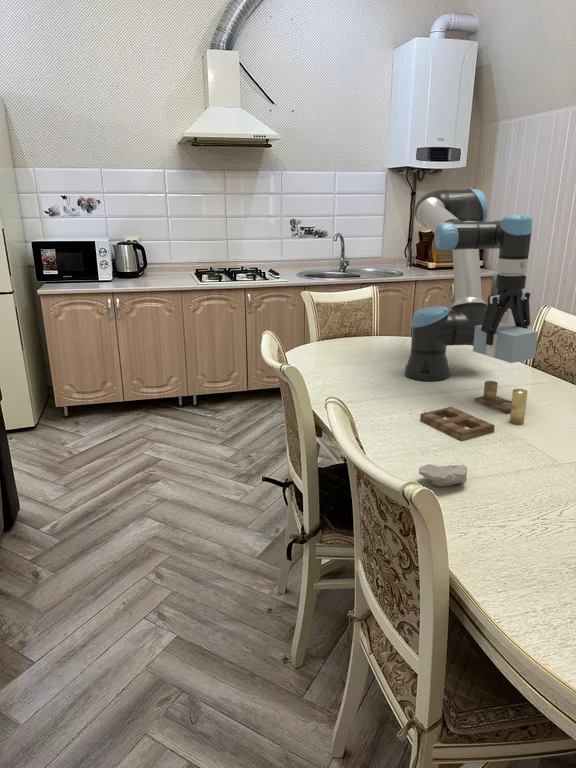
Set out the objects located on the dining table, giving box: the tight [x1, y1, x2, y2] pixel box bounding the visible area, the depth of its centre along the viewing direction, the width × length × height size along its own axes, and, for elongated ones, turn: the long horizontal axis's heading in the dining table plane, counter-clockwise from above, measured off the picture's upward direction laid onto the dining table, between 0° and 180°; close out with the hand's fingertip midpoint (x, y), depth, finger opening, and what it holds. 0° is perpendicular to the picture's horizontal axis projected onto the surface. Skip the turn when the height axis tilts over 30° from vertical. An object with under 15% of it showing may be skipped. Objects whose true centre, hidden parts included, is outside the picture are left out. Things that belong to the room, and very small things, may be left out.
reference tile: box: [474, 380, 512, 414], centre depth 162 cm, size 12×7×6 cm, turn 27°
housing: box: [472, 322, 539, 364], centre depth 157 cm, size 14×9×8 cm, turn 27°
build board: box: [419, 406, 495, 442], centre depth 148 cm, size 16×11×2 cm
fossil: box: [418, 464, 468, 487], centre depth 118 cm, size 9×6×10 cm
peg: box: [509, 388, 528, 426], centre depth 148 cm, size 4×4×9 cm
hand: (503, 353), depth 158 cm, fingers closed on housing, 9 cm apart
